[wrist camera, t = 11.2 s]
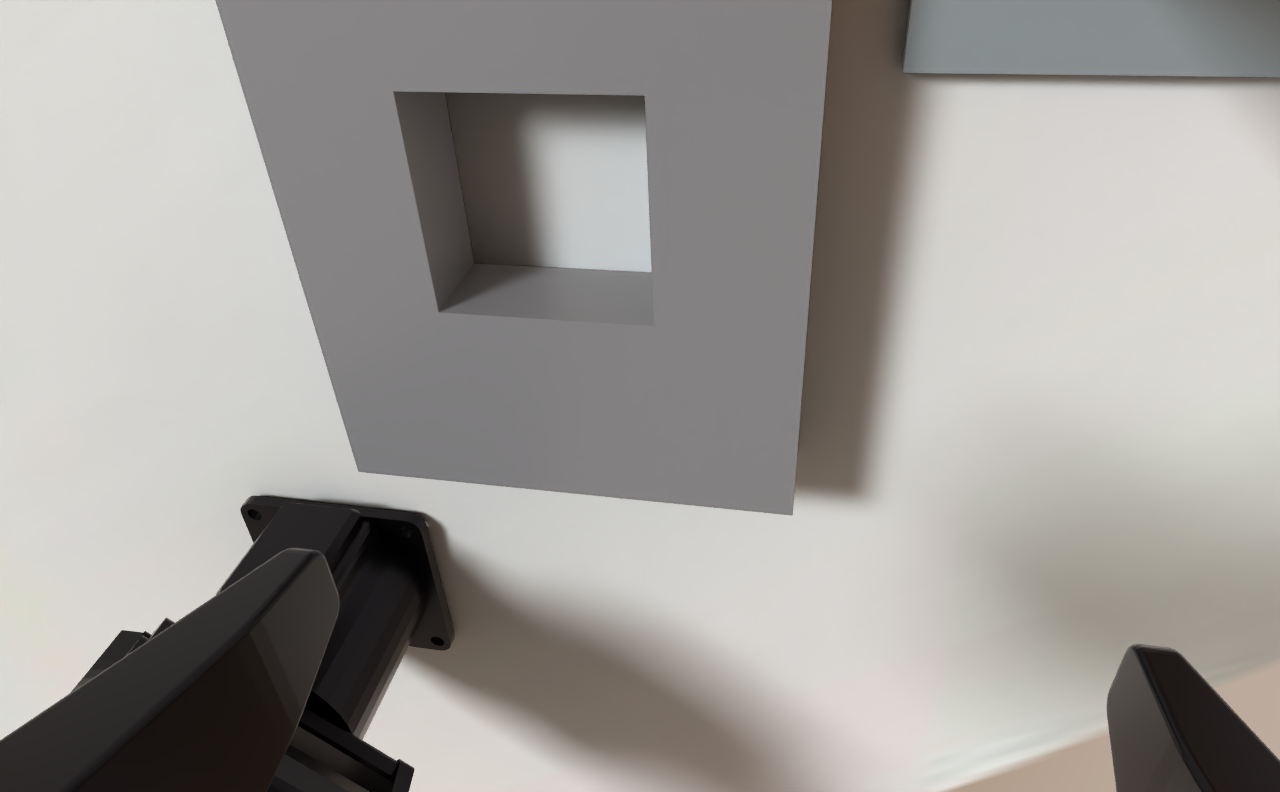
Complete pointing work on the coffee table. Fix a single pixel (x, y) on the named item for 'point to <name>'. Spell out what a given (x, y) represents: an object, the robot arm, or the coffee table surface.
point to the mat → (1094, 37)
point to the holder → (545, 296)
